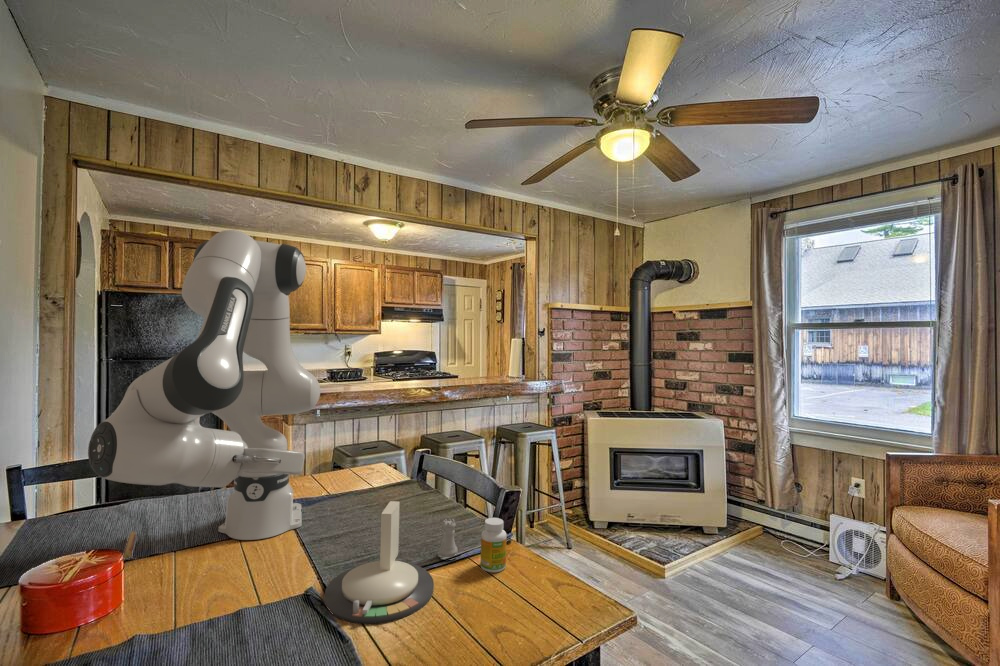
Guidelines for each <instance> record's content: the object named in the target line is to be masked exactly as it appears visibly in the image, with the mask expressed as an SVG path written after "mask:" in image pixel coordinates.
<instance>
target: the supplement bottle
mask: <svg viewBox="0 0 1000 666" xmlns="http://www.w3.org/2000/svg"><path fill="white" fill-rule="evenodd" d="M504 525H505V524H504V520H503V519H501V518H499V517H489V518H486V519H485V520H484V529H483V531H482V532H481V535H480V536H481V537H480V568H481V570H483V571H485V572H487V573H499V572H502V571H503V570H505V569H506V566H507V539H508V538H507V532H506V531H505V530H504Z"/></svg>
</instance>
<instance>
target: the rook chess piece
mask: <svg viewBox="0 0 1000 666" xmlns="http://www.w3.org/2000/svg"><path fill="white" fill-rule="evenodd" d="M456 526H457V524H456V522H455V519H454V518H452V519H451V518H448V519H447V518H444V520H443V521H442V523H441V528H442V531H441V532H442V541H441V544H440V547H439V548H438V550H437V551H438V553H439V554H440V555H441V556H444V557H452V556H454V555H455V554H456V553H458V550H459V549H458V547H457V544H456V543H455V532H456V531H455V527H456Z"/></svg>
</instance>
